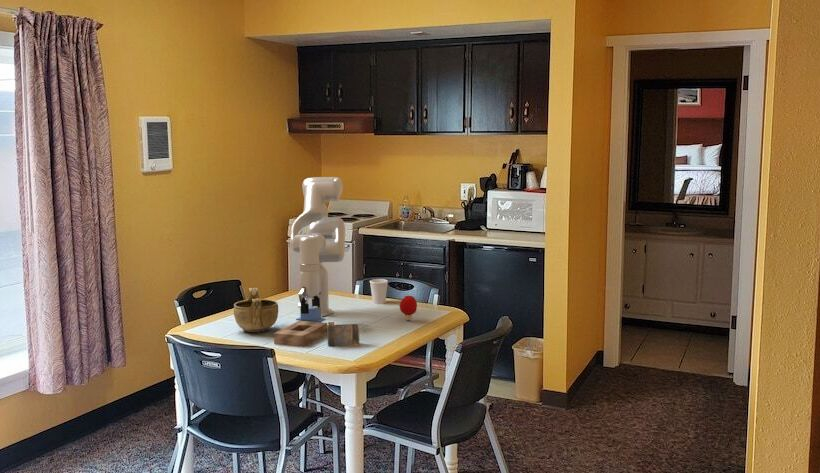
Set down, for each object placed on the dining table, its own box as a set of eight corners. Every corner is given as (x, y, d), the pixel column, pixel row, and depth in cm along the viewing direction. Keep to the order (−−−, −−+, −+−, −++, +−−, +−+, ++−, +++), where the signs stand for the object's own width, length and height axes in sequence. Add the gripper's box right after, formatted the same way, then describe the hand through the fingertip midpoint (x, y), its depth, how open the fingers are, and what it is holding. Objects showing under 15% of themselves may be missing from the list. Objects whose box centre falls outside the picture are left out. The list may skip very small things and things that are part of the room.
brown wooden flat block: (274, 343, 287) (273, 333, 287) (299, 330, 306) (299, 320, 306) (303, 346, 283) (303, 335, 283) (327, 333, 302) (327, 322, 302)
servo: (296, 327, 311) (295, 306, 310) (301, 325, 315) (300, 304, 314) (321, 329, 307) (321, 308, 306) (325, 327, 311) (325, 306, 310)
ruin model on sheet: (327, 347, 284) (327, 321, 282) (327, 345, 287) (327, 319, 285) (359, 346, 285) (359, 320, 284) (358, 344, 288) (358, 318, 287)
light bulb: (414, 324, 315) (414, 299, 314) (397, 323, 317) (397, 298, 315) (419, 318, 324) (418, 294, 323) (402, 317, 326) (402, 294, 325)
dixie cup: (371, 300, 359) (371, 278, 358) (389, 300, 358) (389, 279, 357) (368, 304, 351) (367, 282, 350) (386, 304, 350) (386, 282, 349)
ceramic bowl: (233, 325, 315) (231, 288, 313) (276, 322, 320) (275, 286, 317) (235, 339, 294) (234, 300, 292) (281, 336, 298) (280, 297, 296)
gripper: (311, 264, 317) (311, 306, 319) (290, 270, 301) (291, 314, 302) (327, 265, 314) (328, 307, 316) (308, 271, 298) (309, 316, 300)
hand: (310, 311), depth 309 cm, fingers open, 9 cm apart
